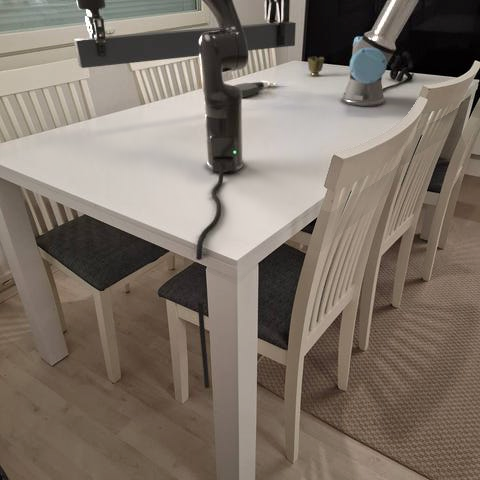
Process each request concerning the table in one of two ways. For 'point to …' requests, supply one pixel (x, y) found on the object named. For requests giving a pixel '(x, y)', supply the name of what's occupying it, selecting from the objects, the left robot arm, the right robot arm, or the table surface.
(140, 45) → the bar
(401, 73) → the squiggle
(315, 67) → the cup
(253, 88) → the spray bottle
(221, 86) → the left robot arm
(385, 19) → the right robot arm
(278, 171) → the table surface
